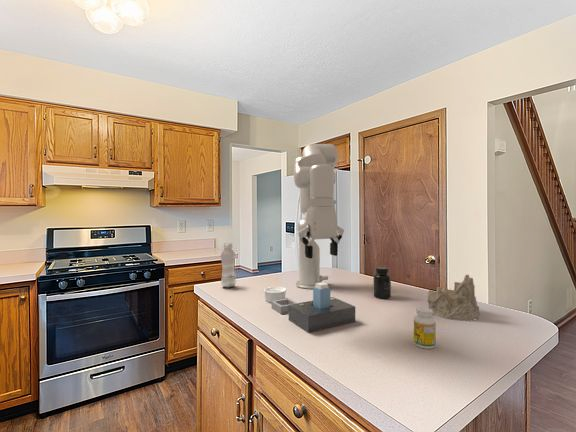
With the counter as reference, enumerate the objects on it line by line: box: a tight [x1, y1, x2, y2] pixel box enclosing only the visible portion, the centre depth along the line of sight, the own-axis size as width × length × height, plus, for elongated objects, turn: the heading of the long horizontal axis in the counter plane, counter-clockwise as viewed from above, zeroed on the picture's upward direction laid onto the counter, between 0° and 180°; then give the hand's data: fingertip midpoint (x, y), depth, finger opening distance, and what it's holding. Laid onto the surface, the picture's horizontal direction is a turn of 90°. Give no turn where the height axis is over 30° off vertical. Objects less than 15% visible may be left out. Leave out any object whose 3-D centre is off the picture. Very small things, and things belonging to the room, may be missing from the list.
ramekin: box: [263, 286, 287, 304], centre depth 126 cm, size 9×9×4 cm
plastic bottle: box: [220, 242, 237, 289], centre depth 145 cm, size 6×7×20 cm
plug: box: [312, 281, 331, 309], centre depth 102 cm, size 4×4×12 cm
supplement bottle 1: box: [373, 266, 392, 300], centre depth 129 cm, size 7×7×12 cm
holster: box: [271, 298, 297, 315], centre depth 114 cm, size 7×7×2 cm
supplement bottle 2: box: [413, 307, 437, 350], centre depth 85 cm, size 5×5×10 cm
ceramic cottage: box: [426, 274, 481, 322], centre depth 111 cm, size 16×16×15 cm
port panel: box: [288, 296, 356, 333], centre depth 102 cm, size 18×12×5 cm, turn 119°
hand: (321, 256), depth 102 cm, fingers open, 9 cm apart
